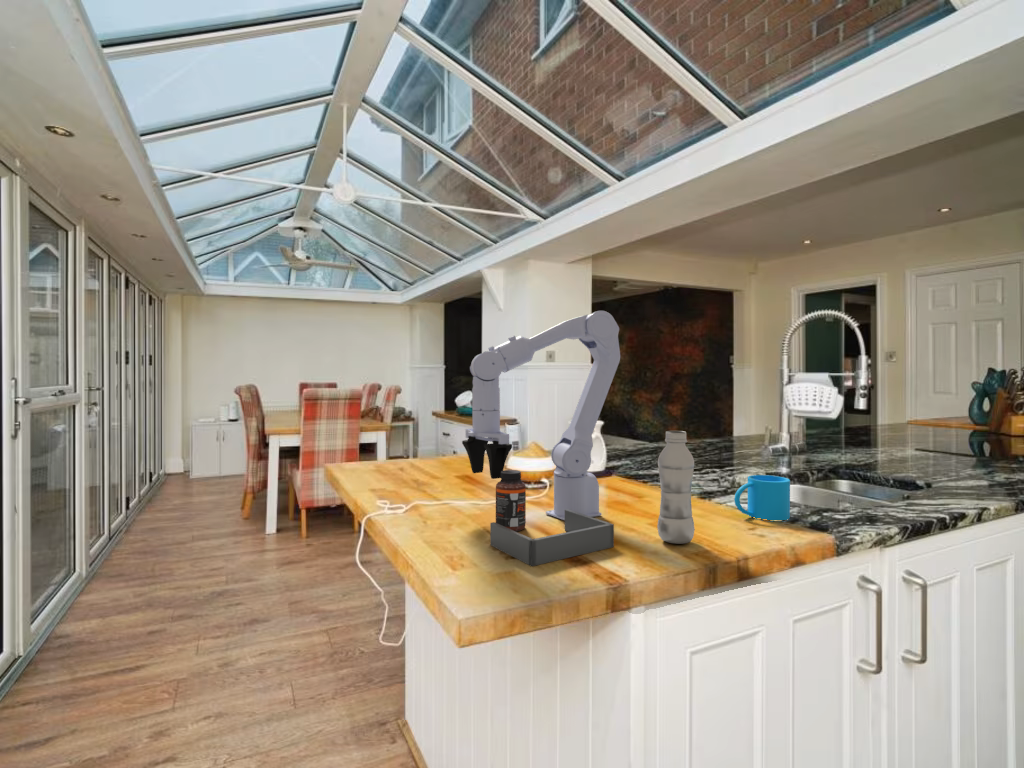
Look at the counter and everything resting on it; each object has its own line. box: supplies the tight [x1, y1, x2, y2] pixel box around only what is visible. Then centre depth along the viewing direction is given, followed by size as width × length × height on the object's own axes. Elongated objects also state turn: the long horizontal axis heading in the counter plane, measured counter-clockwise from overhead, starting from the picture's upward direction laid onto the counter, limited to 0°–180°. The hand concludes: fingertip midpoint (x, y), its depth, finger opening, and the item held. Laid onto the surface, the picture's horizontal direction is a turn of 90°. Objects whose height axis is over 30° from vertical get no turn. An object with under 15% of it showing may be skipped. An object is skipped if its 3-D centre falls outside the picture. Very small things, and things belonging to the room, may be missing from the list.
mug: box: [733, 474, 791, 521], centre depth 116 cm, size 12×8×8 cm
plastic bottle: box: [657, 430, 695, 545], centre depth 98 cm, size 6×7×20 cm
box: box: [489, 509, 615, 567], centre depth 96 cm, size 18×13×4 cm
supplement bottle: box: [495, 469, 527, 532], centre depth 107 cm, size 6×6×11 cm
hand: (486, 475), depth 113 cm, fingers open, 7 cm apart
